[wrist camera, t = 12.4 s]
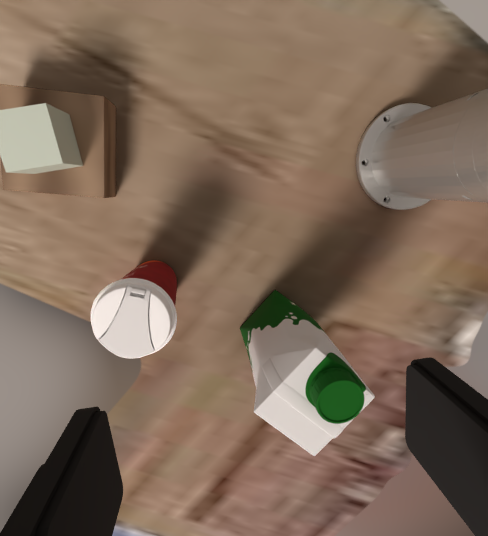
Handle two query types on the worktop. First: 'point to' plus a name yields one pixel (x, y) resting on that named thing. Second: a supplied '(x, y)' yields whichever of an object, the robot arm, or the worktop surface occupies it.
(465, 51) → the worktop surface
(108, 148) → the walnut block
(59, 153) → the sage block
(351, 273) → the worktop surface
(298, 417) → the milk carton
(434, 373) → the robot arm
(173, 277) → the paper cup
